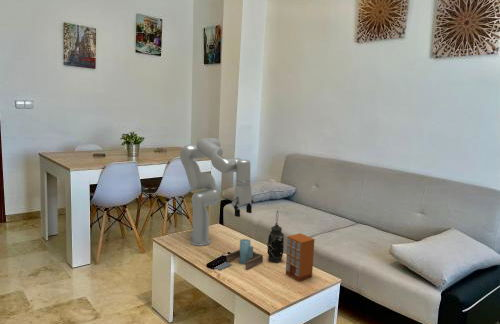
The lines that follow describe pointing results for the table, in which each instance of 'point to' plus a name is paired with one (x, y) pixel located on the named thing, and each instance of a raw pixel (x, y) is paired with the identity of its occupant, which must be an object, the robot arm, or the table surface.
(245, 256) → the jug
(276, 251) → the lantern
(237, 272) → the table surface
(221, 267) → the coaster
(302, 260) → the miniature building
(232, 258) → the brown u-shaped frame
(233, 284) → the table surface
